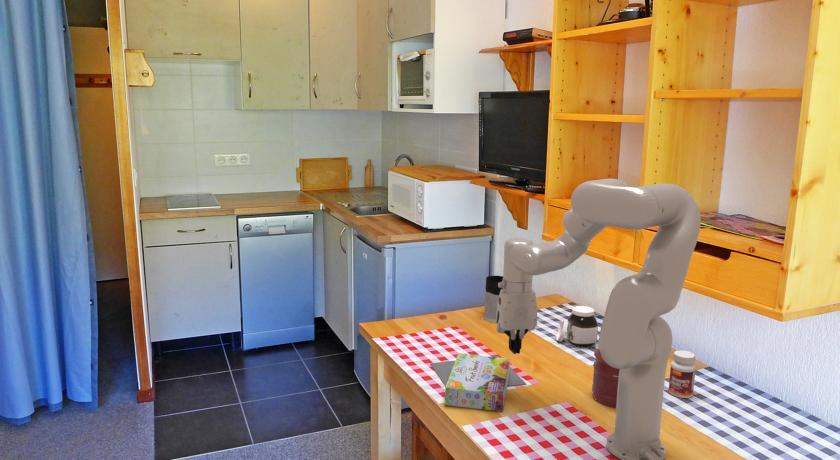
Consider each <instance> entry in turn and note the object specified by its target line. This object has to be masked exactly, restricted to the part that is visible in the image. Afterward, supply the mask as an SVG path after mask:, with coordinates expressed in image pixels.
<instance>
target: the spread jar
mask: <svg viewBox="0 0 840 460" xmlns="http://www.w3.org/2000/svg"><path fill="white" fill-rule="evenodd" d="M571 312H572V313H571V314H570V315H569V316H568V317H567V321H565V320H563V321H562V322H561V323H560V325H559V327H558V331H557V333H556V336H555V337H556V338H555V340H556V341H558V342H560V343H561V342H563V340H564V338H565V337H566V336H567V340H568V342H569V344H570V345H572V346H573V347H578V348H590V347H592V346H594V345H595V344H596V343H597V341H598V335H599V332H598V331H599V329H598V328H599V325H598V321H597V319H596V317H595V309H594V308H592V307H590V306H586V305H585V306H584V305H577V306H573V307H572V310H571Z"/></svg>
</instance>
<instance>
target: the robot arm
mask: <svg viewBox="0 0 840 460" xmlns="http://www.w3.org/2000/svg"><path fill="white" fill-rule="evenodd" d="M570 207H571V208H570V209H568V210H567V211H566V212H565V213H564V215H563V217H562V225H563V226H562V227H563V229H564V232H563V233H562V234H561V235H559V236H558V237H557V238H556V239H554V240H551V241H545V242H542V243H540V242H539V243H536V244H534V242H533V241H532V240H531V239H528V238H525V237H524V238H523V237H511V238H508V239H507V240H505V242H504V245H503V246H504V249H503V251H504V252H503V275H502V276H503V279H502V282H501V283H498V287H499V288H503V289H502V290H501V291H500V294H499V299H498V304H497V313H496V328H495V331H496V332H497V333H498V334H505V335H506V336H508V349H509V351H511V353H512V354H514V355H516V354H518V355H519V354H520V353H521V349H522V341H523V339H524V338H525V337H524V336H525V335H526V334H527V333H528V332H531V331H534V330H535V329H536V327H537V325H538V304H537V296H536V291H535V290H534V289H533V276H541V275H545V274H547V273H551V272H555V271H560V270H563V269H565V268H567V267H569V266H570V265H571V264H573V263H574V262H576V261H577V260H578V259H579V258H581V256H583V255H584V254H585V253H586V252H587V251H588V249H589V247H590V245H591V242H592V240H593V239H594V238H595V237H597V236H598V235H599V234H600V233H601V232H602V231H603V230H604V229H606V228H607V227H614V228H619V229H625V230H636V231H637V230H645V229H649V228H650V229H651V228H653V227H657V231H656V233H655V235H654V236H653V237H652V239H651V241H650V244H649V245H648V248H647V251H646V255H645V258H644V261H643V264H642V266H641V269H640V271H639V272H637V273H636V274H632V275H629V276H626V277H624V278H622V279H621V280H619V281H618V282H617V283H616V284H615V286H614V287H613V289H612V290H611V292H610V295H609V296H608V300H607V304H606V308H605V312H604V316H603V319H602V323H601V326H600V330H599V333H598V343H599V350H600V353H601V356H602V358H603V359H604V361H605V362H606V363H607V364H608V365H610V366H611V367H614V368H617V369H620V370H619V378H618V390H617V404H616V407H615V418H614V419H615V420H614V421H615V422H614V432H613V433H612V434H610V435H609V436H608V437H607V438H606V449H607V450H608V451H609V452H610V454H612V455H613V456H614V457H616V458H617V459H619V460H665V459H666V458H667V450H666V447H665V445H664V444H663V443H662V440H661V439H660V438H661V437H660V435H661V426H662V425H661V424H662V413H663V412H662V411H663V401H664V391H665V390H664V389H665V380H666V372H667V367H668V366H667V365H668V362H669V358H670V354H671V351H672V345H673V332H672V329H671V326H670V325H669V323H668V322H667V321H666V319H664V318H663V317H662V316H663V315H666V314H668V313H670V312H671V311H673V310H674V309H675V308H676V306H677V305H678V303H679V300H680V297H681V294H682V291H683V287H684V284H685V280H686V277H687V275H688V271H689V267H690V264H691V263H690V262H691V260H692V257H693V255H694V254H693V253H694V250H695V248H696V245H697V243H698V240H699V235H700V231H701V224H702V220H701V218H702V217H701V213H700V209H699V205H698V203H697V202H696V200H695V198H694V197H693V196H692V195H691V194H690V192H689V191H687V189H685V188H683V187H681V186H679V185H677V184H673V183H656V184H655V183H654V184H648V185H644V186H643V185H641V186H636V187H635V186H633V187H630V186H629V185H628V184H627V183H625V182H624V181H622V180H620V179H618V178H602V179H597V180H596V179H594V180H588V181H584V182H582V183H581V184H579V185H578V186H577V187H576V188H575V189H574V190H573V192H572V194H571V197H570Z"/></svg>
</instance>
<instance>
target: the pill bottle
mask: <svg viewBox="0 0 840 460" xmlns="http://www.w3.org/2000/svg"><path fill="white" fill-rule="evenodd" d="M695 359H696V355H695V353H693V352H691V351H689V350H676V351H674V352H673V360H672V361H671V363H670V373H669V382H668V392H669V394H670V395H672V396H673V397H677V398H681V399H690V398H692V396H694V388H695V387H694V386H695V380H696V379H695V378H696V370H697V369H696V368H697V367H696V364H695V361H696V360H695Z"/></svg>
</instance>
